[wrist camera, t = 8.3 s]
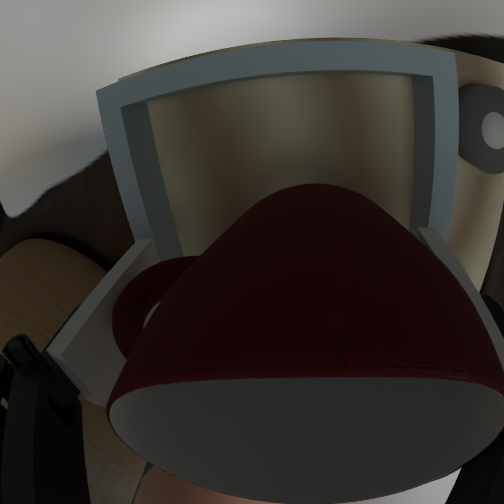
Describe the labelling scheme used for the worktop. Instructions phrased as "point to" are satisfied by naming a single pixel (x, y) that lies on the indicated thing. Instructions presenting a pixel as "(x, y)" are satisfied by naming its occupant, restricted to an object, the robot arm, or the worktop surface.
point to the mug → (306, 357)
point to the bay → (277, 65)
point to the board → (312, 149)
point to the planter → (41, 332)
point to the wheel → (482, 127)
